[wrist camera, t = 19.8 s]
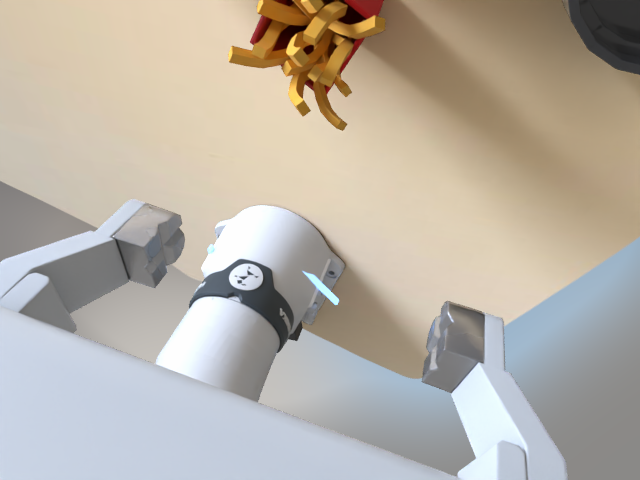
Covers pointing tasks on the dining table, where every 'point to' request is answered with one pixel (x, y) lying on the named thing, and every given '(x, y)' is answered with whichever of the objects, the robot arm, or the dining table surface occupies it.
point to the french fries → (311, 44)
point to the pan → (609, 30)
